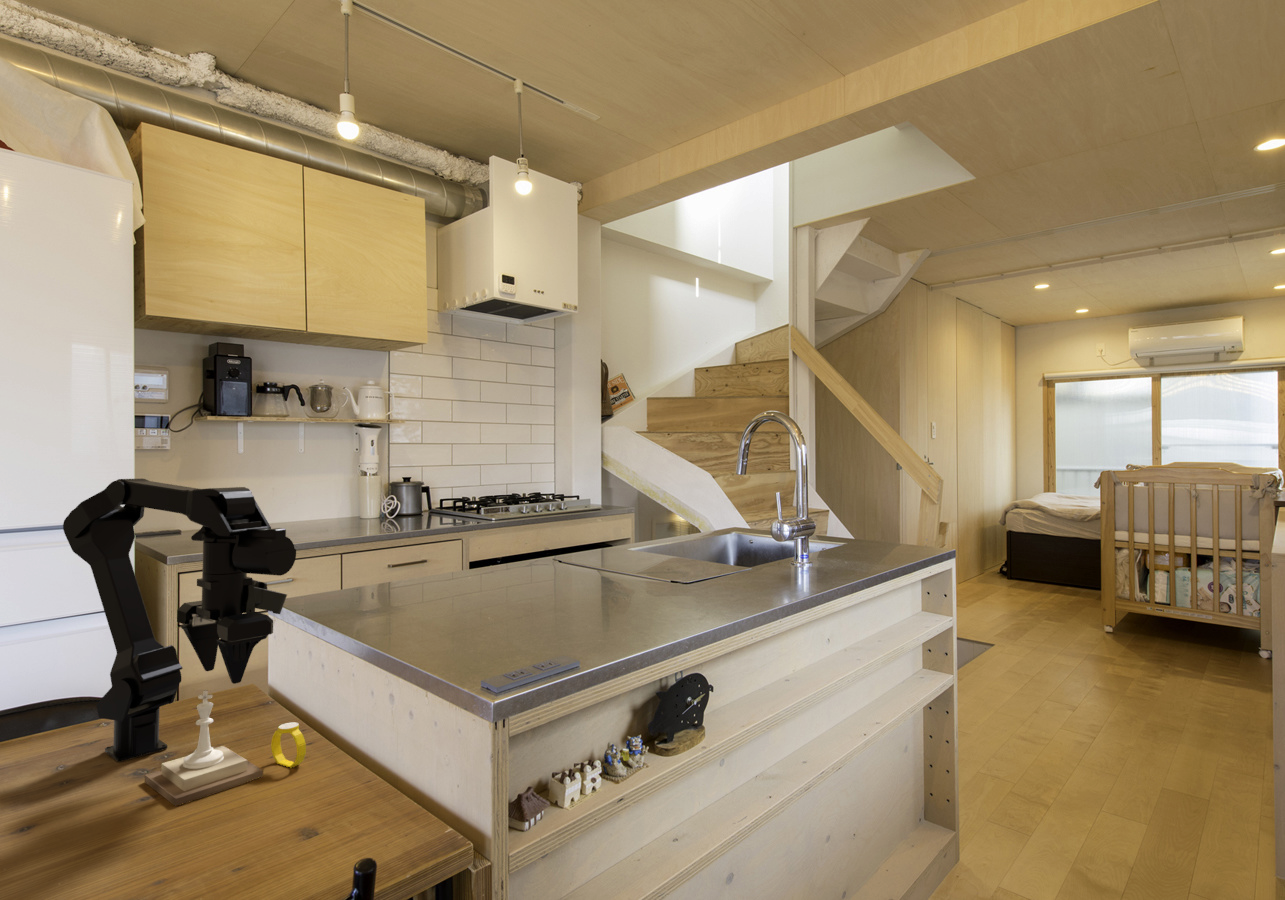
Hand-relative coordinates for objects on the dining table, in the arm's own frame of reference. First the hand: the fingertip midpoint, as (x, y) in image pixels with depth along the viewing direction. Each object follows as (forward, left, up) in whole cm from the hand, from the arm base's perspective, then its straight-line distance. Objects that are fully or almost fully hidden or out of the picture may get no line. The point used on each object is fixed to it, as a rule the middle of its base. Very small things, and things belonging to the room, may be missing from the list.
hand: (222, 676), depth 105 cm
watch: (+8, +6, -13) cm, 17 cm away
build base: (+3, -4, -13) cm, 14 cm away
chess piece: (+3, -4, -11) cm, 12 cm away
